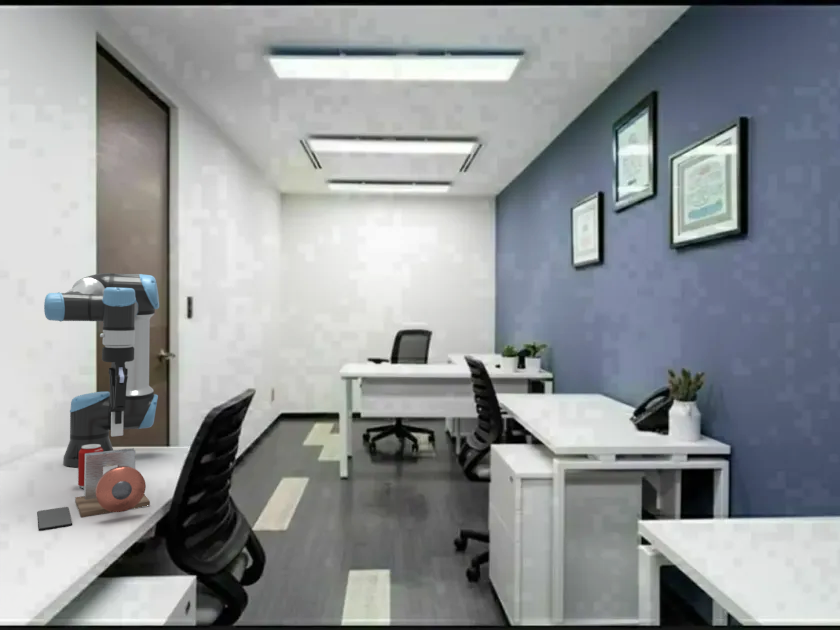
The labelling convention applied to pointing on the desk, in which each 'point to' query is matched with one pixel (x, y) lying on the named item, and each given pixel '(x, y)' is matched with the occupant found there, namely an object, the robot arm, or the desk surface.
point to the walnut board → (99, 506)
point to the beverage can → (81, 465)
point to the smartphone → (54, 518)
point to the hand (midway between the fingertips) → (116, 435)
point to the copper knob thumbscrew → (120, 489)
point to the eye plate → (100, 460)
